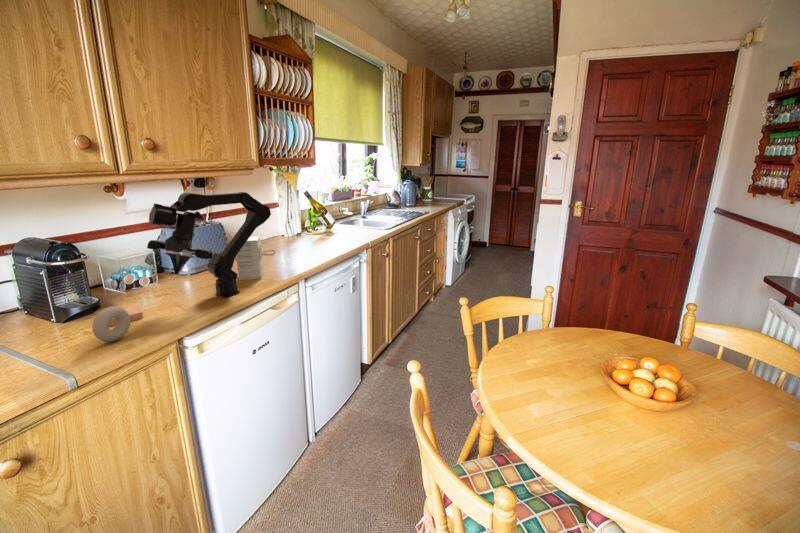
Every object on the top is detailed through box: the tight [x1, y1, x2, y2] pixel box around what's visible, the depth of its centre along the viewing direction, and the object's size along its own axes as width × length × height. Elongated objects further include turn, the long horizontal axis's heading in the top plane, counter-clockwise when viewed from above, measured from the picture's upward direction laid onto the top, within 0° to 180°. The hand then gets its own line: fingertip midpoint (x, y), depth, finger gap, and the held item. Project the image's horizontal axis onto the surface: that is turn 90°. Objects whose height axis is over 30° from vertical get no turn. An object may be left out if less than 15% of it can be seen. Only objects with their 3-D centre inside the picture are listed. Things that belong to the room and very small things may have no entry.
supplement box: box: [235, 236, 265, 281], centre depth 161 cm, size 10×9×17 cm
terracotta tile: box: [108, 305, 144, 327], centre depth 121 cm, size 2×8×9 cm
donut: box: [92, 306, 131, 343], centre depth 105 cm, size 10×3×10 cm, turn 166°
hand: (176, 274), depth 128 cm, fingers closed
